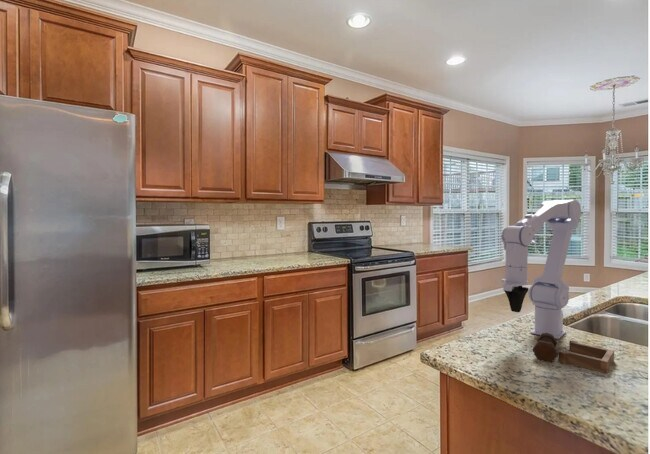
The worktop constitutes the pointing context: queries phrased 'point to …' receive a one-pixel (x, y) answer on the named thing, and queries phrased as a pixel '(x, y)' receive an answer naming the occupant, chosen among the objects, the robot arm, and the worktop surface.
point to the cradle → (587, 356)
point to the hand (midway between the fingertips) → (515, 311)
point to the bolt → (546, 348)
